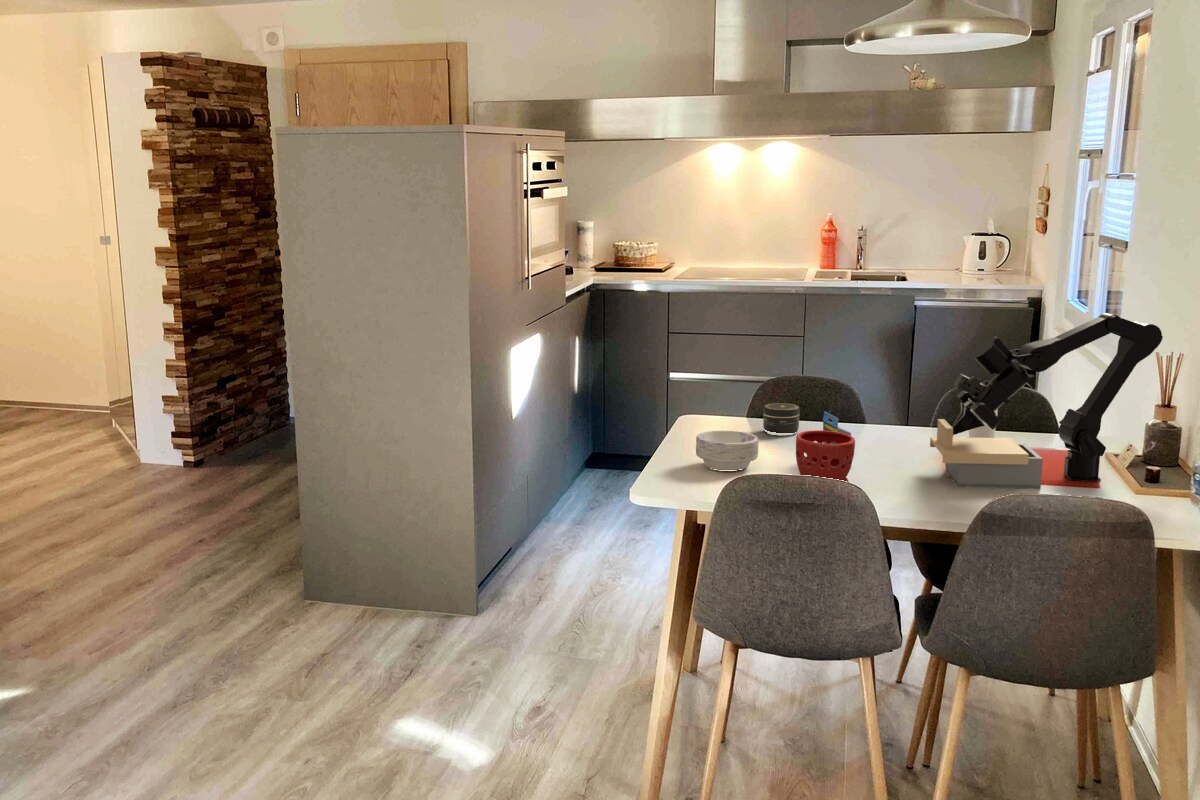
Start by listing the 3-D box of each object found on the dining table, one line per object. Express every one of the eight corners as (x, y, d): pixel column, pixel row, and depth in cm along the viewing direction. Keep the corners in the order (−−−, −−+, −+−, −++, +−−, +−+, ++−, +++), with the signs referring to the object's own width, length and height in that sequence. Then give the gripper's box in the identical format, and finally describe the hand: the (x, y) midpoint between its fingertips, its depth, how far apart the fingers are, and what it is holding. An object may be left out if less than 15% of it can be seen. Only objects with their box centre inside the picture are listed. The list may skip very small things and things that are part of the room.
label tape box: (851, 466, 259) (853, 417, 256) (836, 467, 258) (837, 418, 256) (836, 457, 267) (837, 410, 265) (821, 458, 266) (822, 410, 264)
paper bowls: (770, 467, 259) (771, 435, 257) (730, 479, 248) (731, 446, 247) (723, 456, 270) (723, 426, 268) (683, 467, 259) (683, 436, 258)
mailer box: (1023, 472, 251) (1025, 443, 249) (1040, 488, 237) (1042, 458, 236) (945, 471, 253) (946, 442, 252) (957, 487, 239) (959, 457, 238)
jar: (794, 428, 300) (794, 402, 299) (803, 436, 291) (803, 409, 289) (759, 429, 300) (759, 403, 298) (767, 437, 290) (767, 410, 289)
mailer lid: (1009, 447, 251) (1011, 417, 250) (1028, 464, 236) (1030, 432, 234) (929, 446, 253) (931, 416, 252) (943, 463, 238) (944, 431, 236)
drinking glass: (993, 456, 267) (997, 397, 264) (995, 462, 260) (999, 403, 257) (965, 454, 268) (968, 396, 265) (966, 461, 262) (970, 401, 259)
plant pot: (794, 494, 236) (796, 441, 233) (794, 478, 248) (796, 428, 246) (854, 496, 233) (856, 443, 231) (851, 480, 246) (853, 430, 244)
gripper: (968, 356, 249) (918, 401, 253) (987, 369, 231) (933, 417, 235) (1001, 389, 250) (950, 434, 253) (1022, 405, 232) (967, 452, 235)
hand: (949, 433), depth 244 cm, fingers closed, pressing on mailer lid
